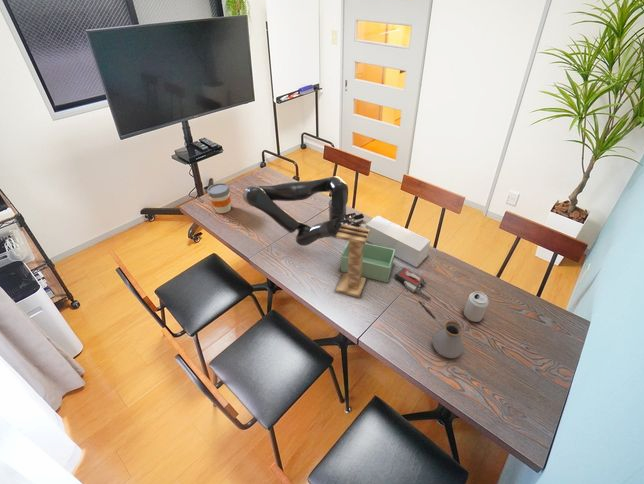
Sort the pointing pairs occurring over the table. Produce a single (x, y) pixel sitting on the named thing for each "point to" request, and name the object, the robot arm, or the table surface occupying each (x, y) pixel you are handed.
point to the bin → (372, 261)
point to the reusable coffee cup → (220, 197)
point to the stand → (353, 259)
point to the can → (476, 306)
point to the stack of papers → (398, 240)
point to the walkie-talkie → (411, 280)
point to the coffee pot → (447, 338)
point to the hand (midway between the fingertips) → (361, 220)
